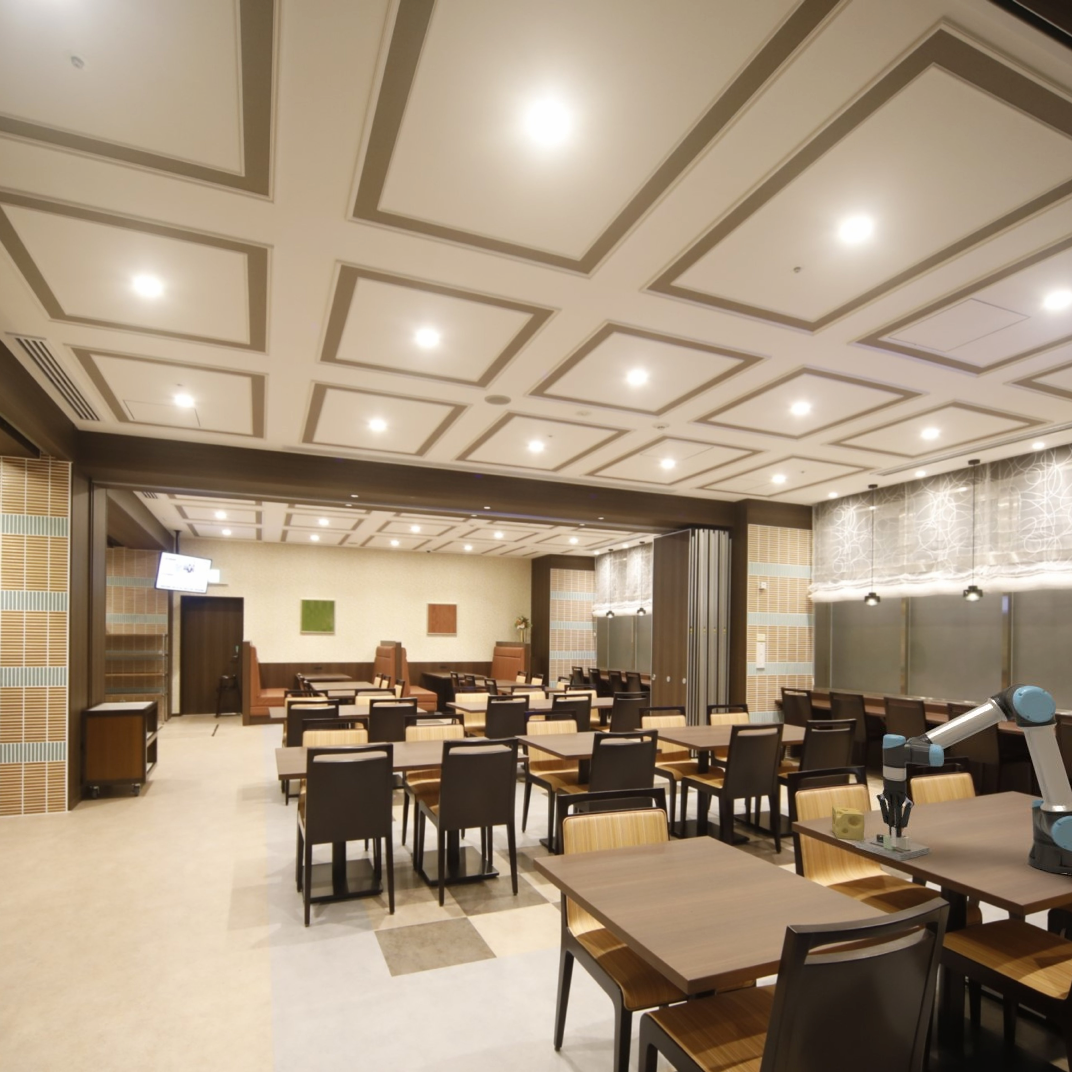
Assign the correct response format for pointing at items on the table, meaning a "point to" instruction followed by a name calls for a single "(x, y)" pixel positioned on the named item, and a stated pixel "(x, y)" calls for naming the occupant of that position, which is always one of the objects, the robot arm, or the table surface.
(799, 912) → the table surface
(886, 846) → the slider sage
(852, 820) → the cheese
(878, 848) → the panel
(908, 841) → the slider ivory
